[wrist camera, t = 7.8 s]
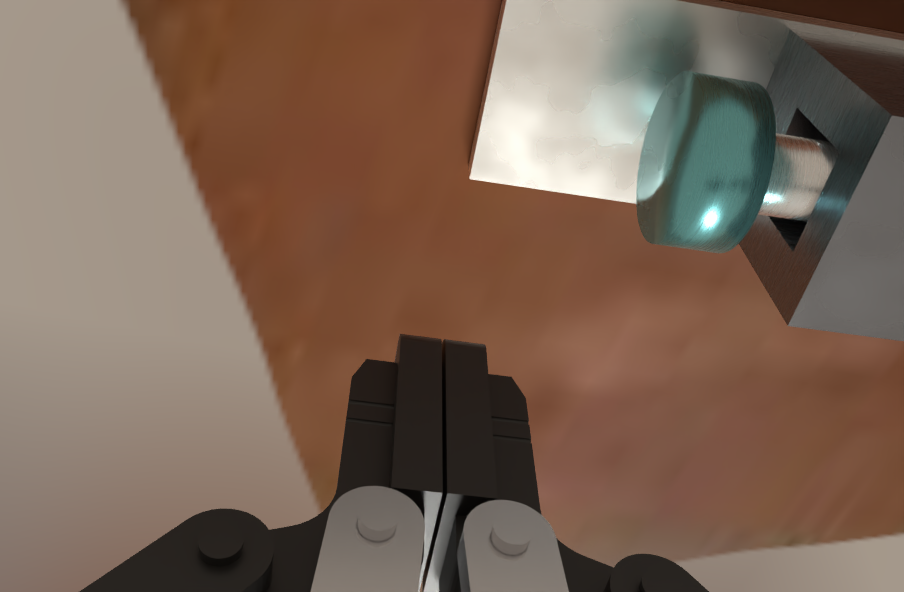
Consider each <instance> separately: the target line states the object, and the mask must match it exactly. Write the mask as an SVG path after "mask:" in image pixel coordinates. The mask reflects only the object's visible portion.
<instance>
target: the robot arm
mask: <svg viewBox="0 0 904 592" xmlns="http://www.w3.org/2000/svg"><path fill="white" fill-rule="evenodd" d="M528 421H529V419H528V412H527V404H526V398H525V396H524V395H523V393H522V392H521V390H520V389H519V387H518V386H517V384H516V383H515V382H514V380H513V379H512V377H508V376H500V375H492V374H488V366H487V353H486V346H485V345H484V344H476V343H469V342H461V341H453V340H445V339H444V340H443V343H442V341H441V339H436V338H429V337H421V336H413V335H405V334H400V336H399V341H398V346H397V352H396V358H395V363H394V362H386V361H378V360H370V359H366V361H365V362H364V363H363V364H362V365H361V367H360V368H359V369H358V370H357V371H356V373H355V374H354V375H353V376H352V380H351V387H350V395H349V402H348V410H347V417H346V424H345V432H344V439H343V447H342V454H341V462H340V469H339V477H338V484H337V490H336V494H335V496H334V498H333V500H332V502H331V503H330V505H329V506H328V507H327V508H326V509H325V510H324V511H323V512H322V513H320V514H319V515H318V516H316V517H315V518H313V519H311V520H309V521H306V522H304V523H301V524H298V525H294V526H289V527H284V528H278V529H272V530H268V528H267V527H266V525H264V523H262V522H261V520H259V519H258V518H256V517H255V516H253V515H251V514H249V513H247V512H243V511H239V510H235V509H214V510H209V511H205V512H202V513H199V514H197V515H194V516H193V517H191V518H189V519H187V520H186V521H184V522H183V523H181V524H180V525H179V526H177V527H175V528H174V529H172V530H171V531H169V532H168V533H167V534H165V535H163V536H162V537H160V538H159V539H158V540H156V541H154V542H153V543H151V544H150V545H148V546H147V547H146V548H144V549H142V550H141V551H139V552H138V553H137V554H135V555H133V556H132V557H130V558H129V559H127V560H126V561H124V562H123V563H122V564H120V565H119V566H117V567H116V568H114V569H113V570H111V571H110V572H108V573H107V574H105V575H104V576H102V577H101V578H99V579H98V580H96V581H95V582H93V583H92V584H90V585H89V586H87V587H86V588H84V589H83V590H81V591H80V592H419V591H420V586H421V582H422V578H423V592H709V591H707V590H706V589H705V588H704V587H703V586H702V585H701V584H700V583H699V582H698V581H697V580H696V579H694V578H693V577H692V576H691V575H690V574H689V573H688V572H687V571H685V570H684V569H683V568H682V567H680V566H679V565H677V564H676V563H674V562H672V561H670V560H668V559H666V558H663V557H660V556H656V555H651V554H635V555H631V556H628V557H626V558H624V559H622V560H621V561H619V562H618V563H617V564H616V566H615V567H614V568H613V567H611V566H608V565H606V564H603V563H601V562H598V561H595V560H593V559H590V558H588V557H585V556H583V555H581V554H578V553H576V552H574V551H573V550H571V549H569V548H568V547H566V546H565V545H564V544H562V543H561V542H560V541H559V540H558V539H557V538H556V536H555V533H554V531H553V529H552V527H551V525H550V524H549V523H548V521H547V520H546V519H545V518H544V517H543V516H542V515H541V510H540V504H539V496H538V488H537V481H536V473H535V465H534V458H533V450H532V443H531V435H530V427H529V425H528Z"/></svg>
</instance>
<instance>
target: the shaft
mask: <svg viewBox="0 0 904 592" xmlns="http://www.w3.org/2000/svg"><path fill="white" fill-rule="evenodd" d="M839 154H840V152H839V151H838V150H837V149H836V148H835V146H834V145H833V144H832V143H831V142H827V141H821V140H815V139H809V138H803V137H796V136H790V135H784V134H778V133H776V121H775V113H774V108H773V104H772V101H771V98H770V96H769V94H768V92H767V91H766V89H765V88H764V87H763V86H762V85H760V84H758V83H756V82H750V81H744V80H738V79H732V78H727V77H721V76H715V75H709V74H703V73H697V72H691V71H683V72H680V73H679V74H677V75H676V76H675V77H673V78H672V79H671V81H670V82H669V83H668V84H667V86H666V87H665V89H664V90H663V92H662V94H661V96H660V98H659V100H658V102H657V104H656V106H655V108H654V111H653V113H652V116H651V119H650V121H649V124H648V127H647V131H646V134H645V138H644V142H643V146H642V151H641V156H640V161H639V168H638V176H637V189H636V205H637V216H638V222H639V226H640V229H641V232H642V234H643V236H644V238H645V239H646V240H647V241H648V242H650V243H652V244H658V245H665V246H672V247H679V248H686V249H693V250H700V251H707V252H714V253H724V252H727V251H729V250H731V249H732V248H734V247H735V246H736V245H737V244H739V243H740V241H741V240H742V239H743V238H744V237H745V235H746V234H747V233H748V231H749V230H750V228H751V226H752V225H753V223H754V221H755V219H756V217H757V215H758V214H759V215H766V216H773V217H780V218H786V219H793V220H800V221H806V222H808V219H809V217H810V215H811V213H812V211H813V209H814V207H815V205H816V203H817V200H818V198H819V196H820V194H821V192H822V190H823V188H824V186H825V183H826V181H827V179H828V177H829V175H830V173H831V171H832V169H833V166H834V164H835V162H836V160H837V158H838V156H839Z"/></svg>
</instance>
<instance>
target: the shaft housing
mask: <svg viewBox="0 0 904 592" xmlns="http://www.w3.org/2000/svg"><path fill="white" fill-rule="evenodd" d="M683 71H691V72H697V73H703V74H709V75H715V76H721V77H727V78H732V79H738V80H744V81H750V82H756V83H758V84H760V85H762V86H763V87H764V88H765V89H766V91H767V92H768V94H769V96H770V98H771V101H772V104H773V108H774V113H775V121H776V133H778V134H784V135H790V136H796V137H803V138H809V139H815V140H821V141H827V142H831V143H832V144H833V145H834V146H835V148H836V149H837V150H838V151H839V152H840V154H839V156H838V158H837V160H836V162H835V164H834V166H833V169H832V171H831V173H830V175H829V177H828V179H827V181H826V183H825V186H824V188H823V190H822V192H821V194H820V196H819V198H818V200H817V203H816V205H815V207H814V209H813V211H812V213H811V215H810V217H809V219H808V222H806V221H800V220H793V219H786V218H780V217H773V216H766V215H759V214H758V215H757V217H756V219H755V221H754V223H753V225H752V226H751V228H750V230H749V231H748V233H747V234H746V235H745V237H744V238H743V239H742V240H741V241H740V243H739V245H740V247H741V248H742V250H743V252H744V253H745V255H746V257H747V258H748V260H749V262H750V263H751V265H752V267H753V268H754V270H755V272H756V273H757V275H758V277H759V278H760V280H761V282H762V283H763V285H764V287H765V288H766V290H767V292H768V293H769V295H770V297H771V298H772V300H773V302H774V303H775V305H776V307H777V308H778V310H779V312H780V314H781V315H782V317H783V319H784V320H785V322H786V324H787V325H788V326H793V327H801V328H808V329H816V330H823V331H831V332H839V333H846V334H854V335H861V336H869V337H876V338H884V339H891V340H899V341H904V34H902V33H897V32H891V31H886V30H880V29H875V28H869V27H863V26H858V25H852V24H847V23H841V22H836V21H830V20H824V19H819V18H813V17H808V16H802V15H797V14H791V13H785V12H780V11H774V10H769V9H763V8H758V7H752V6H747V5H741V4H735V3H730V2H724V1H719V0H502V4H501V9H500V13H499V18H498V23H497V28H496V33H495V38H494V43H493V48H492V53H491V58H490V62H489V67H488V72H487V77H486V82H485V87H484V92H483V97H482V102H481V107H480V111H479V116H478V121H477V126H476V131H475V136H474V141H473V146H472V151H471V156H470V160H469V165H468V168H469V179H473V180H480V181H487V182H493V183H500V184H507V185H514V186H520V187H527V188H534V189H541V190H548V191H554V192H561V193H568V194H575V195H581V196H588V197H595V198H602V199H609V200H615V201H622V202H629V203H636V189H637V176H638V168H639V161H640V156H641V151H642V146H643V142H644V138H645V134H646V131H647V127H648V124H649V121H650V119H651V116H652V113H653V111H654V108H655V106H656V104H657V102H658V100H659V98H660V96H661V94H662V92H663V90H664V89H665V87H666V86H667V84H668V83H669V82H670V81H671V79H672V78H673V77H675V76H676V75H677V74H679V73H680V72H683Z"/></svg>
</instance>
